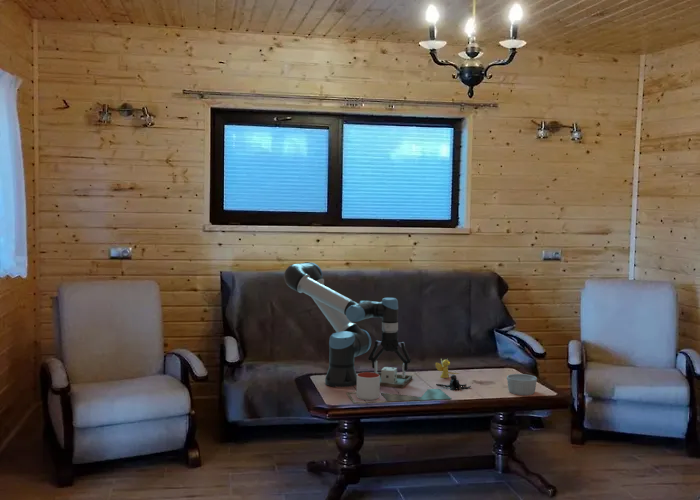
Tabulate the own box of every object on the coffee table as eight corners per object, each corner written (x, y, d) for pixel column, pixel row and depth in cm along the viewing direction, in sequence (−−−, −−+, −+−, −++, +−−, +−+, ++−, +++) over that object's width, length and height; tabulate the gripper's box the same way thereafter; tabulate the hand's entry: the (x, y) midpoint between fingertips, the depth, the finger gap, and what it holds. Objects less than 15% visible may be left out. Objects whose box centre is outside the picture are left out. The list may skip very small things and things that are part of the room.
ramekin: (500, 390, 324) (500, 374, 323) (524, 387, 329) (524, 372, 329) (518, 397, 312) (518, 381, 311) (542, 394, 317) (543, 379, 316)
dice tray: (364, 385, 328) (364, 381, 328) (375, 376, 345) (376, 372, 345) (402, 389, 322) (402, 384, 322) (412, 379, 339) (412, 375, 339)
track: (353, 403, 298) (353, 402, 298) (346, 393, 314) (346, 392, 314) (451, 399, 307) (451, 398, 307) (439, 389, 323) (439, 388, 323)
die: (380, 382, 332) (381, 369, 331) (384, 379, 338) (384, 366, 337) (393, 383, 330) (393, 370, 329) (396, 380, 336) (397, 367, 335)
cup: (354, 400, 304) (355, 377, 303) (358, 394, 314) (358, 371, 313) (378, 401, 302) (378, 378, 301) (380, 395, 312) (381, 372, 311)
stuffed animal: (473, 388, 322) (452, 374, 320) (460, 406, 322) (439, 391, 320) (466, 381, 334) (446, 367, 332) (454, 398, 334) (433, 384, 332)
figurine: (459, 381, 337) (460, 363, 336) (434, 379, 341) (435, 361, 341) (464, 376, 348) (465, 358, 348) (440, 373, 352) (440, 356, 352)
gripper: (361, 331, 332) (361, 376, 334) (414, 334, 324) (413, 380, 326) (366, 328, 340) (366, 372, 341) (418, 331, 332) (417, 376, 333)
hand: (389, 376), depth 333 cm, fingers open, 13 cm apart
